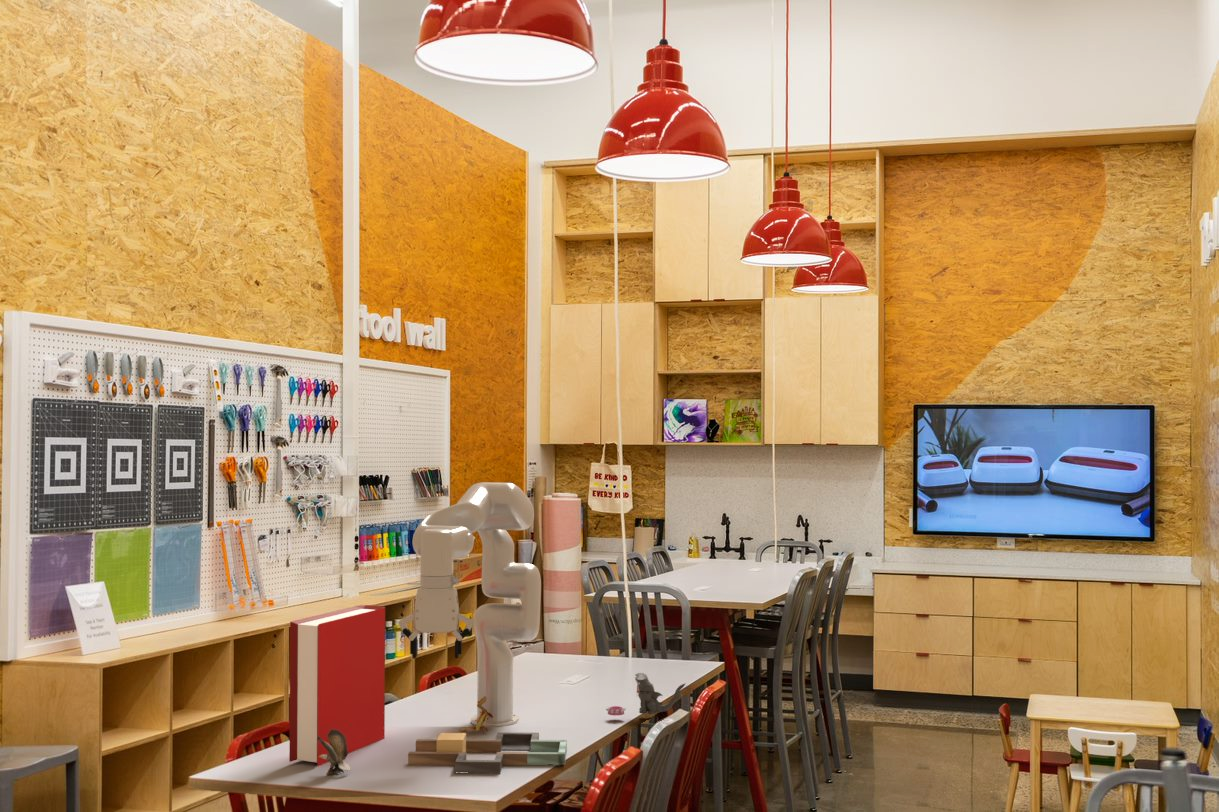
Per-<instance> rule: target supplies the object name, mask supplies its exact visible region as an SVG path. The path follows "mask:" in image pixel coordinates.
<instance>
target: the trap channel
mask: <svg viewBox="0 0 1219 812" xmlns="http://www.w3.org/2000/svg"><path fill="white" fill-rule="evenodd" d="M511 751H512V752H511ZM567 752H568V740H567V739H540V733H539V732H499V731H498V732H497V734H496V736H495V739H466V752H437V738H436V739H434V738H433V739H431V738H430V739H427V738H426V739H425V738H424V739H423V738H422V739H421V738H419V739H416V740H415V751H408V753H407V765H409V766H411V765H412V766H413V765H414V766H415V765H416V766H417V765H418V766H419V765H420V766H422V765H423V766H427V765H428V766H429V765H430V766H435V765H437V766H439V765H440V766H442V765H443V766H445V765H446V766H447V765H449V766H455V767H454V773H455V772H468V773H467V774H501V773H500V772H502V769H503V766H549V765H548V764H553V765H552V766H566V758H567ZM467 753H496V754H495V757H494V759H490V760H489V759H467Z"/></svg>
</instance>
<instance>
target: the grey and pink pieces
mask: <svg viewBox="0 0 1219 812" xmlns="http://www.w3.org/2000/svg"><path fill="white" fill-rule="evenodd" d="M634 679H635V682H636V684H637V685H636V694H637V697H638V698H639V700H640V702H639V703H640V707H639V709H638V710H639V711H638V712H639V714H642V715H643V714H648V715H656V714H658V713H662V712H667V711H668V710H670V708H672V707H673V705H674V704H675V702H676V701H677V700H678V699H681V697H683V696H684V695H683V694H681V693H680V692H681V690H682V689H683V688H684V687H685V686H686V683H682V684H681V685H679V686H678V687H677V688H676V690H675V692H674V694H673V697H672V698H671V700H669V702H668V703H665V704H664V703H663V702H661V701H659V700H658V698H659V697H663V694H662V693H660V692H659V691H655V688H654V684H652V683H651V682H650V680H649V677H648V675H647V674H646V673H644V672H637V673H635V676H634ZM605 710H606V711H607V714H608V715H609V716H623V715H625V711H626V710H627V708H623V706H616V705H615V706H607V708H605Z"/></svg>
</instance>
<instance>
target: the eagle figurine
mask: <svg viewBox="0 0 1219 812" xmlns="http://www.w3.org/2000/svg"><path fill="white" fill-rule="evenodd" d="M328 739H329V742H330V744H328V743H327V742H325V741H323V740H322V739H321V738H320V737H318V740H319V741H320V742H321V743H322V744H323V746H324V747H325V748H326V750H327V751H328V755H324V754H323V755H321V756H319V758H323V759H325V760H327V761H329V762H328V763H330V765H329V769H328V770H327V772H326V776H327V777H328V776H329V775H331V774H335V775H336V776H338V775H339V773H338V772H341V773H343V774H345V771H347V772H349V771H350V769H351V766H350V765H349V764H348V763H346V762H345V760H346V758H347V757H348V754H349V753H348V750H347V743H346V738H345V736H344V735H343V734H342V733H341V732H340V731H338V730H336V729H335V730H333V729H331V731H330V732H329V733H328Z"/></svg>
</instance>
